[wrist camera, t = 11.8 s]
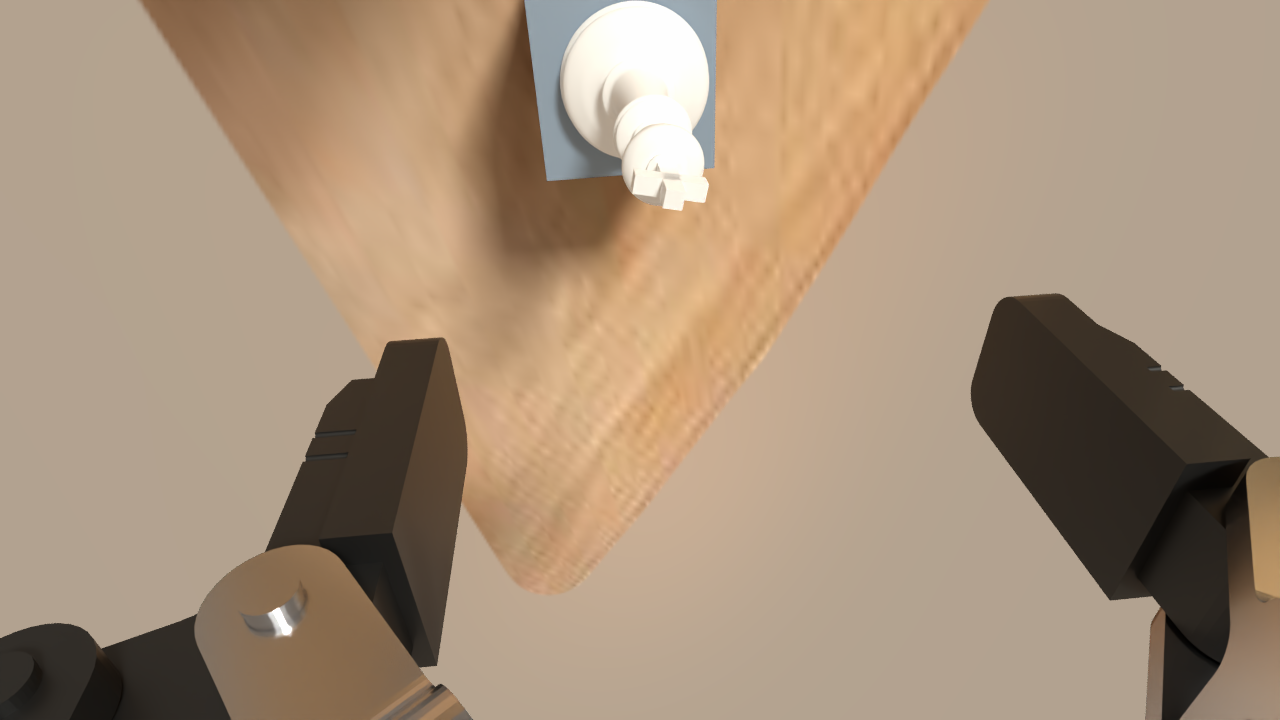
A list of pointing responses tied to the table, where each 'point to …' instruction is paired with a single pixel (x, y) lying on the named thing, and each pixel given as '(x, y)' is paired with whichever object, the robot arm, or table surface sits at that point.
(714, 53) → the slate-blue block
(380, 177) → the table surface
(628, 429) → the table surface
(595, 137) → the chess piece
